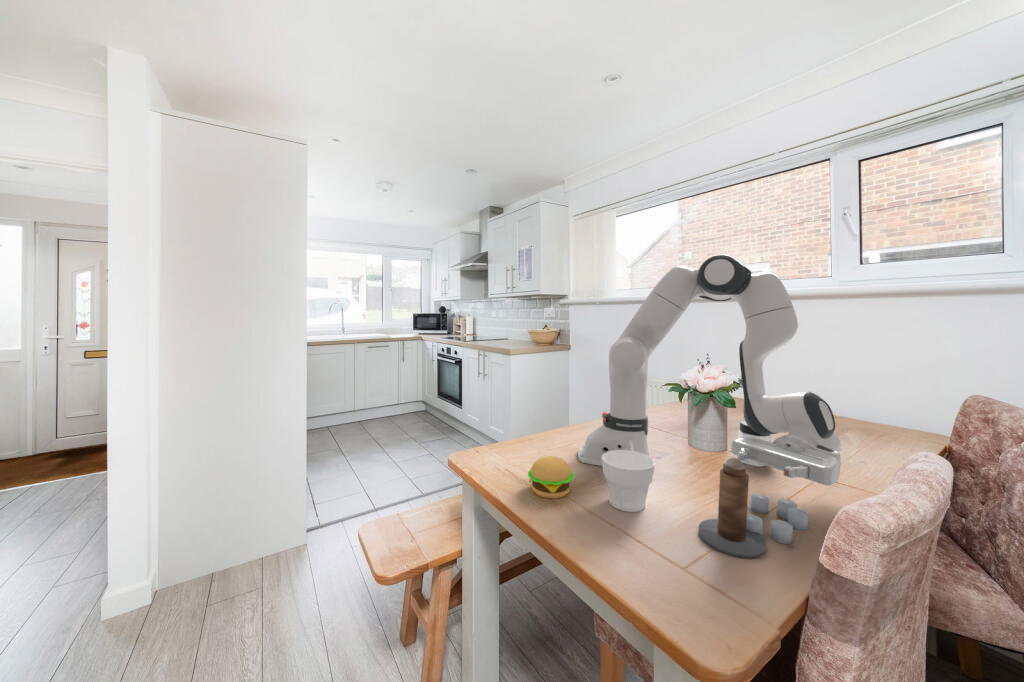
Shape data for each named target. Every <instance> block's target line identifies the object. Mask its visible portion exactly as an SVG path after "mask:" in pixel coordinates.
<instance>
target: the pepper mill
mask: <svg viewBox="0 0 1024 682" xmlns="http://www.w3.org/2000/svg"><path fill="white" fill-rule="evenodd" d="M749 478H750V474H748V472H747V468H746V467H745V466H744V463H742V461H741V460H739V459H738V457H734V456H733V457H729V458H728V459H727V460H726V461H725V463H724V464H723V465H722V468H721V469H720V470H719V485H718V486H719V488H718V491H719V492H718V508H717V509H718V513H717V514H718V515H717V519H718V534H719V535H720V536H721V537H723V538H724V539H726V540H729V541H732V542H744V541H745V540H746V527H747V506H748V507H749V500H748V499H749V480H750V479H749Z"/></svg>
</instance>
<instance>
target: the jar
mask: <svg viewBox="0 0 1024 682" xmlns="http://www.w3.org/2000/svg"><path fill="white" fill-rule="evenodd" d="M737 432H738V433H737V434H738V435H737V437H738V438H744V437H752V438H757V439H760V440H764V441H768V442H771V443H773V441H772V440H773V434H769V435H761V434H759V433H757V432H755V431H754V430H753V429H751V428H750V427H749V426H748V425H747V423H746V422H745V420H741V421H739V428H738V431H737ZM736 458H738V456H737V455H736ZM742 463H743V465H749V466H752V467H757V468H761V467H762V468H763V467H768V466H767V465H764V464H761V463H758V462H755V461H752V460H749V459H748V461H746V462H744V461H742Z"/></svg>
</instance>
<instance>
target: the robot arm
mask: <svg viewBox="0 0 1024 682" xmlns="http://www.w3.org/2000/svg"><path fill="white" fill-rule="evenodd" d="M696 298H700V299H701V298H702V299H706V300H710V301H712V302H713V301H714V302H726V301H729V300H732V299H733V300H734V301H736V302H737V303H738V305H739V307H740V309H741V312H742V315H743V319H744V322H745V336H744V337H743V338H744V339H743V340H742V341H741V342H740V344H739V349H738V350H739V351H738V354H739V356H738V357H739V367H740V374H741V382H742V383H741V384H742V390H743V391H742V392H743V418H744V421H745V422H746V423H747V425H748V426H749V427H750V428H751V429H753V430H754V431H755V432H757V433H759V434H761V435H769V434H770V435H777V434H785V435H781V436H778V437H776V438H775V439H774V440H773V441H772V443H771V442H768V441H764V440H760V439H757V438H752V437H744V438H734V439H732V440H731V445H730V446H731V447H730V450H731V453H732V454H733V455H735V456H736V457H737V456H738V457H737V458H738V459H739V460H741V461H744V462H746V461H748V459H749V460H752V461H755V462H758V463H761V464H764V465H767V466H766V467H770V468H773V469H776V470H779V471H781V472H783V476H785V477H788V478H790V479H793V478H794V479H795V478H803V479H805V480H809V481H811V482H814V483H818V484H819V485H824V486H832V485H835V484H836V483H837V482H838V480H839V478H840V473H841V462H842V461H841V459H842V458H841V453H840V452H841V450H842V443H841V439H840V437H839V436H838V434H837V433H836V432H835V430H836V421H835V417H834V414H833V411H832V409H831V407H830V405H829V404H828V402H826V401H825V400H824V399H823V398H822V397H821V396H819V395H818V394H817V393H815V392H811V391H804V392H803V391H802V392H795V393H794V392H792V393H787V394H778V395H777V394H776V395H772V396H771V395H767V393H766V390H765V389H766V387H765V381H764V380H765V379H764V372H763V365H764V362H765V360H766V359H767V357H769V356H770V355H771V354H772V353H773V352H775V351H778V349H780V348H782V347H783V346H785V345H787V343H789V342H790V341H791V340H792V339H793V338H794V336H795V334H796V333H797V331H798V327H799V322H798V317H797V313H796V311H795V308H794V305H793V303H792V299H791V298H790V295H789V293H788V290H787V289H786V287H785V285H784V284H783V282H782V281H781V278H779V276H778V275H777V274H775V273H772V272H768V271H765V272H763V271H762V272H757V273H753V274H752V270H750V269H749V268H748V267H747V266H745V265H744V264H743V263H741V262H740V261H739V260H738V259H736V258H735V257H733V256H731V255H728V254H717V255H712V256H711V257H709V258H707V259H706V260H705V261H703V262H702V264H701V265H700V267H699V269H692V268H691V267H689V266H686V265H685V266H684V265H676V266H674V267H672V268H670V270H669V271H667V272H666V274H664V275H663V276H662V278H661V279H660V280H659V281H658V282H657V283H656V285H654V287H653V289H652V290H651V292H650V293H649V294H648V296H647V297H646V299H645V300H644V302H642V304H641V305H640V307H639V308H638V310H637V311H636V312H635V314H634V315H633V317H632V318H631V320H630V321H629V323H628V325H627V326H626V327H625V329H624V330H623V332H622V333H621V335H620V336H619V338H618V339H617V340H616V341H615V342H613V344H612V345H611V346H610V349H609V351H608V372H609V398H610V399H609V412H607V411H603V412H602V414H601V417H602V425H600V426H599V427H597V428H595V429H594V430H593V431H591V432H590V433H589V434H588V435H587V436H586V439H585V442H584V445H583V446H581V447H580V448H579V449H578V451H577V459H578V461H579V462H581V463H584V464H588V465H593V466H599V467H603V466H602V458H601V457H602V455H603V454H604V453H606V452H609V451H614V450H628V451H635V452H639V453H642V454H645V455H647V456H649V457H651V455H650V453H649V452H650V451H649V446H648V437H647V436H648V432H649V417H648V415H647V411H648V410H647V409H648V408H647V407H648V406H647V405H648V368H649V367H648V364H649V363H648V359H649V358H650V356H651V355H652V353H653V352H654V351H655V350H656V349H657V347H659V345H660V343H661V342H662V341H663V340H664V338H665V337H667V335H668V334H669V333H670V331H671V330H672V328H673V327H674V326H675V325H676V323H677V322H678V320H679V319H680V318H681V316H683V314H684V312H685V311H686V309H688V307H689V305H690V304H691V303H692V302H694V300H695V299H696ZM787 433H788V434H787Z"/></svg>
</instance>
